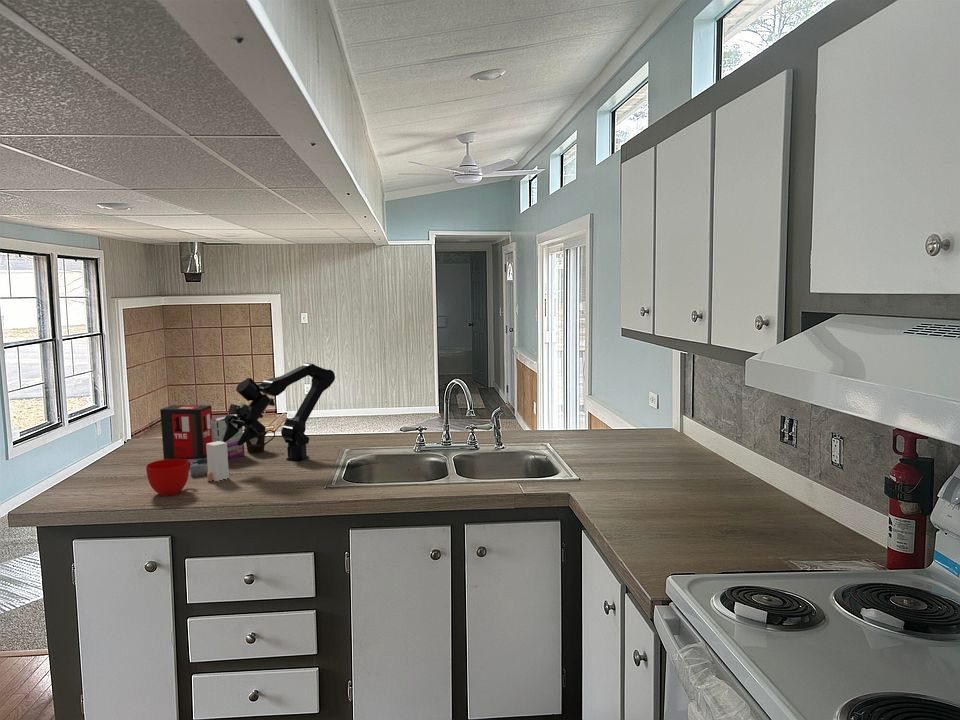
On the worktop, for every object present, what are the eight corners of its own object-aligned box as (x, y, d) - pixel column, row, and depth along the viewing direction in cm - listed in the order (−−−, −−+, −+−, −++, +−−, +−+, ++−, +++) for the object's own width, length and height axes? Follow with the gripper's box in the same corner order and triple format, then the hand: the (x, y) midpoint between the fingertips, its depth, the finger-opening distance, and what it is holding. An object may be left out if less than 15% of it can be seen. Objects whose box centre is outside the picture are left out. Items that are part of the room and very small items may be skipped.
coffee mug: (240, 453, 284) (239, 429, 283) (253, 448, 292) (251, 425, 291) (265, 455, 280) (263, 430, 279) (277, 450, 289) (276, 426, 287)
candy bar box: (237, 453, 284) (235, 413, 282) (244, 455, 281) (242, 415, 279) (212, 459, 275) (210, 418, 273) (219, 461, 272) (217, 420, 270)
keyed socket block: (222, 464, 268) (222, 455, 267) (226, 472, 257) (225, 462, 256) (188, 468, 262) (188, 459, 262) (191, 476, 252) (190, 467, 251)
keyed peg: (221, 476, 252) (219, 440, 250) (229, 478, 248) (226, 442, 247) (204, 480, 246) (202, 444, 245) (212, 483, 243) (209, 446, 242)
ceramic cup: (206, 485, 241) (204, 456, 240) (172, 500, 225) (170, 470, 224) (174, 482, 245) (172, 454, 243) (139, 497, 228) (137, 467, 227)
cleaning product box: (163, 459, 278) (160, 409, 275) (175, 453, 286) (172, 405, 284) (203, 459, 276) (200, 409, 273) (214, 453, 285) (211, 405, 282)
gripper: (227, 393, 259) (201, 427, 252) (256, 397, 247) (229, 434, 240) (247, 410, 266) (222, 444, 259) (276, 416, 254) (251, 451, 247)
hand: (230, 443), depth 251 cm, fingers open, 9 cm apart
